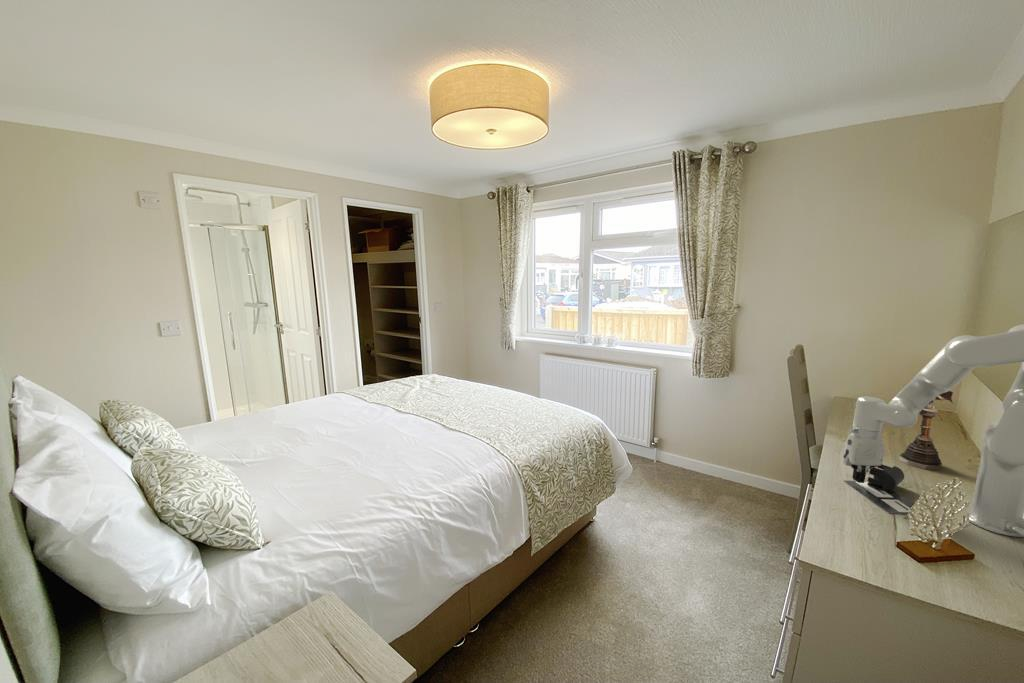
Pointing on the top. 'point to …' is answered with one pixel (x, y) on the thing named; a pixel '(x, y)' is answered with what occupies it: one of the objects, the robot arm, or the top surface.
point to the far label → (874, 490)
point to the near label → (897, 505)
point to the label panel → (878, 499)
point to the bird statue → (925, 440)
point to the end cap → (885, 477)
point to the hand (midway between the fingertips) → (858, 480)
